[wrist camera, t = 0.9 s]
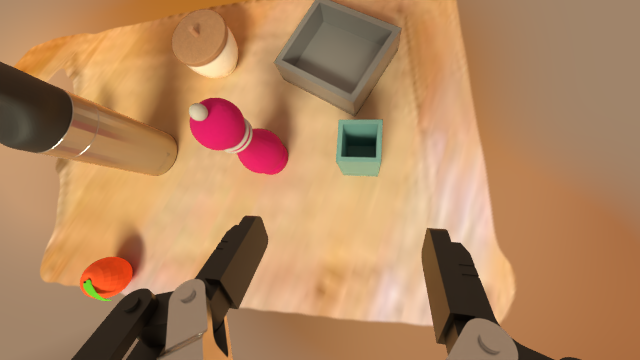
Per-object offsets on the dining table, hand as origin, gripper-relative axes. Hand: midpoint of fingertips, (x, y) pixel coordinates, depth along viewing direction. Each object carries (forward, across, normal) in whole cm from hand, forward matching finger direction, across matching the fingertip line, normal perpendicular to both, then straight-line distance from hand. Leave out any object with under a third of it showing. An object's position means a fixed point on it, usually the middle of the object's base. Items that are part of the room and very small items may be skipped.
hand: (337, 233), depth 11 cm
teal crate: (+27, 0, +11) cm, 29 cm away
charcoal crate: (+39, +5, -1) cm, 39 cm away
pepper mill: (+27, +16, +11) cm, 33 cm away
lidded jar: (+41, +29, -3) cm, 50 cm away
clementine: (+10, +44, +28) cm, 53 cm away
